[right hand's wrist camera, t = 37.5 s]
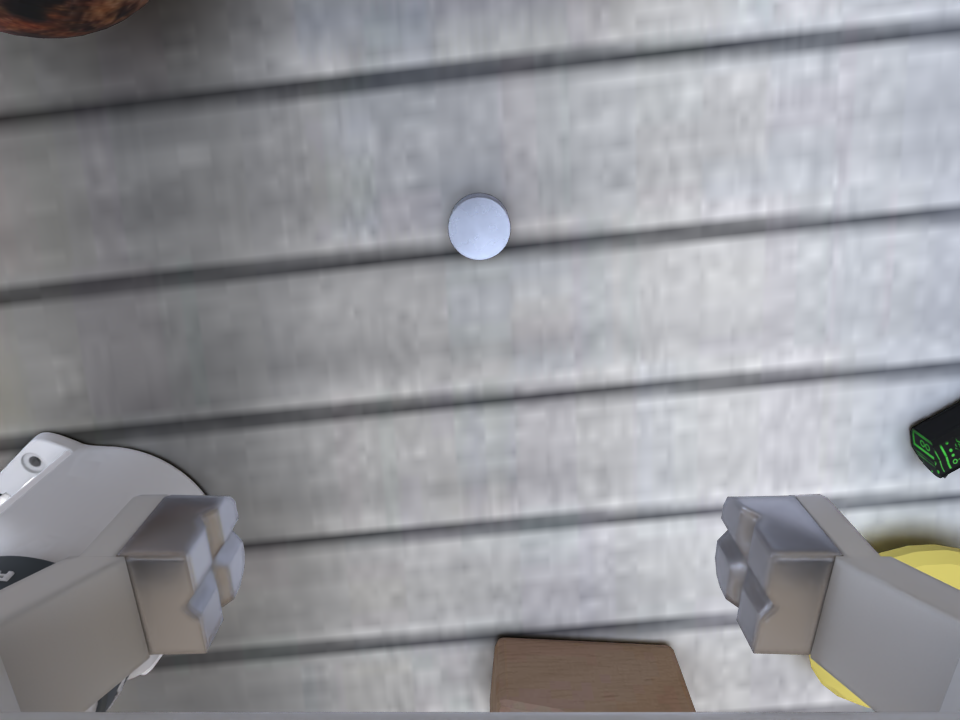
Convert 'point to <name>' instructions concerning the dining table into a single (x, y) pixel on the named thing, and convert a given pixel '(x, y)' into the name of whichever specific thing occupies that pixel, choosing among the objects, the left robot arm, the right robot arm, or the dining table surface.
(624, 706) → the decorative block
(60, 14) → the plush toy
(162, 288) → the dining table surface
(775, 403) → the dining table surface
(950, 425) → the handgun
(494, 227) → the cap
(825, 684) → the yellow domed disc
